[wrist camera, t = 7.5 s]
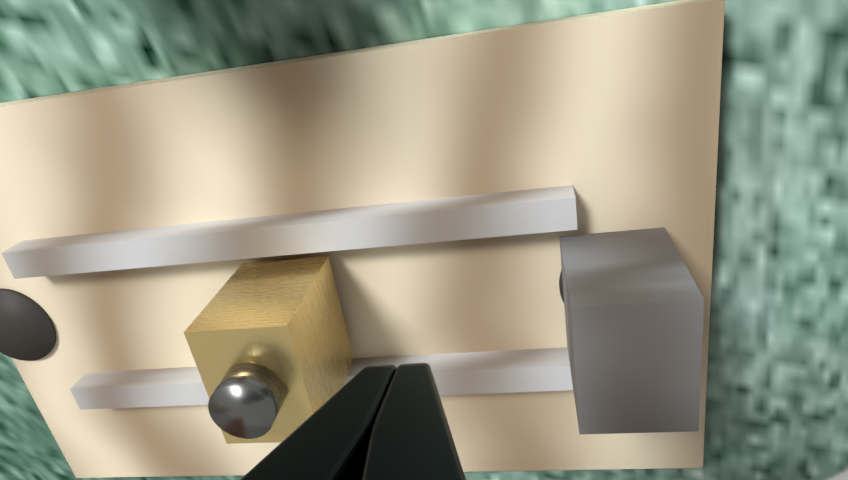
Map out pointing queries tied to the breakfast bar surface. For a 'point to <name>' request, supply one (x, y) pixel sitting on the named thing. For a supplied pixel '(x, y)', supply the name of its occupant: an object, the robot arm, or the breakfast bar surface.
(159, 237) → the plate
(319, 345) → the block
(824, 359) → the breakfast bar surface
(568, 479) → the breakfast bar surface
